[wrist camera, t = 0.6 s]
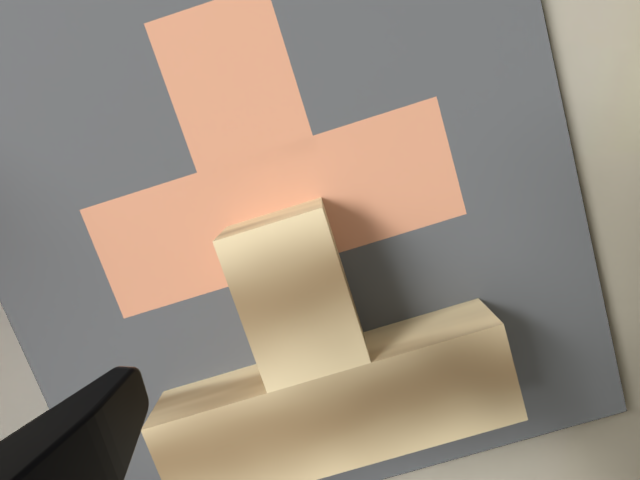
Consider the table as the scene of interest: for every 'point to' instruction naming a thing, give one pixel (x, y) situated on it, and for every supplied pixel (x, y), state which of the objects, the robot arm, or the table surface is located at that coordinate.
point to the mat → (292, 186)
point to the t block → (328, 370)
